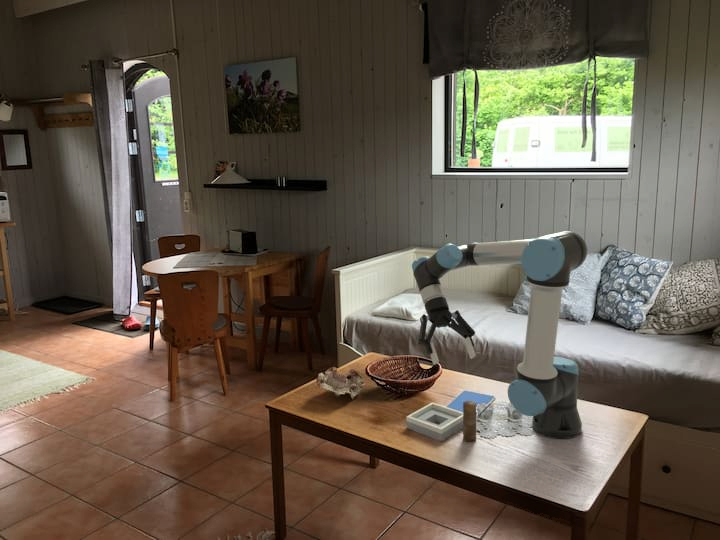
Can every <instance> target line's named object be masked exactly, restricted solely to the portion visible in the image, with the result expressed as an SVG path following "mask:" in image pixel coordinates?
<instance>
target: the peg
mask: <svg viewBox="0 0 720 540" xmlns="http://www.w3.org/2000/svg"><path fill="white" fill-rule="evenodd" d="M462 438H463V439H462V440H463V441H464V442H465V443H468V444H470V443H475V442H477V419H476V403H475V402H473V401H465V402H464V403H463V428H462Z"/></svg>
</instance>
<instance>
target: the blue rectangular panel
mask: <svg viewBox="0 0 720 540" xmlns="http://www.w3.org/2000/svg"><path fill="white" fill-rule="evenodd" d="M495 400H496V396H494V395H489V394H485V393H480V392H475V391H469V390H463V391H461V392H460V393H459V394H458V395H457V396H456V397H455V398H454V399H452V401H451V402H450V403H448V404H447V405H446V406H445V407H448V408H451V409H454V410H457V411H460V412H463V403H464V402H465V401H473V402H475V403H476V407H477V405H478V404H482V403H485V404H490V405H491V404H492V403H493V402H494V401H495ZM476 417H477V412H476Z"/></svg>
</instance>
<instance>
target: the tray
mask: <svg viewBox="0 0 720 540" xmlns="http://www.w3.org/2000/svg"><path fill="white" fill-rule="evenodd" d="M405 418H406V429H408V430H411V431H414V432H416V433H419V434H422V435H425V436H427V437H428V438H431V439H434V440H437V441H440V442H443V441H444V440H447V439H448V438H449V437H451V436H452V435H454V434H455V433H457V432H459V431H460V430H463V412H460V411H457V410H454V409H451V408H448V407H446V406H444V405H442V404H438V403H435V402H431V403H428V404H427V405H425V406H424V407H423V406H422V407H421V408H420V409H417V410H416V411H415V412H412V413H410V414H409V415H407V416H406V417H405ZM434 422H436V423H434ZM437 423H439V424H437Z"/></svg>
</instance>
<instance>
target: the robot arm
mask: <svg viewBox="0 0 720 540" xmlns="http://www.w3.org/2000/svg"><path fill="white" fill-rule="evenodd" d="M587 256H588V245H587V243H586V241H585V239H584V238H583V237H582V236H581V234H580V235H579V234H578V233H577V232H574V231H569V230H567V231H566V230H564V231H559V232H556V233H552V234H551V233H550V234H547V235H546V234H545V235H541V236H538V237H536V238H530V239H518V240H517V239H515V240H502V241H491V242H490V241H489V242H488V241H487V242H475V241H474V242H467V243H465V244H461V245H456V244H452V243H447V244H444V245H443V246H442V247H440V248H439V249H438V250H437V251H436V252H434V254H432V255H431V256H421V257H418V258H417V259H414V261H413V262H412V264H411V268H412V275H413V277H414V279H415V283H416V284H417V287H418V291H419V293H420V296H421V300H422V302H423V304H424V306H423V307H424V310H425V311H426V314H427V315H426V314H422V315H421V316H420V318H419V322H420V329H419V335H418V341H417V343H418V345H420V346H421V345H422V346H423V347H424V348H425V350H426V353H427V354H428V355H430V358H431V361H432V365H435V366H436V365H437V364H438V363H439V362H440V360H439V357H438V354H437V350H436V347H435V345H434V343H433V341H432V338H433V336H434V334H435V331H436V330H437V328H438V329H439V328H446V327H448V328H450V329H452V330H453V331H455V332H456V334H458V335H460V336H461V337H463V342H464V345H465V348H466V351H467V353H468V356H469V359H470V360H471V359H472V360H473V359H475V357H476V352H475V349H474V347H475V343H474V339H473V338H472V337H473V336H475V334H476V331H475V329H473V327H471V325H470V324H469V323H468V322H467V321H466V320H465V319H464V318H463V317H462V315H461V313H460V311H459V310H455V311H453V312H451V311H450V308H449V304H448V301H447V298H446V297H445V296H446V295H445V292H444V290H443V287H442V284H441V281H440V279H441V278H443V277H444V276H446V274H448V273H449V272H452V271H454V270H458V269H462V268H466V267H472V266H490V265H491V266H494V265H495V266H496V265H497V266H498V265H521V267H522V270H524V274H525V275H526V282H527V283H528V284H529V285H530V292H529V301H528V302H529V303H528V313H527V323H526V330H525V331H526V333H525V343H524V348H523V349H524V350H523V351H524V352H523V358H522V362H520V363H519V364H517V367H516V376H515V379H514V380H513V381H511V382H510V383H509V385H508V386H507V396H508V397H507V398H508V401H509V402H510V404H511V405H512V406H513V408H514V409H515V410H516V411H517V412H518V413H520V414H521V415H524V416H525V417H532V420H531V422H532V424H531V425H532V428H533V430H534V431H535V432H536V433H538V434H539V435H542V436H544V437H547V438H553V439H561V440H562V439H563V440H564V439H572V438H575V437H578V436H580V434H581V433H582V429H583V423H582V419H581V416H580V413H579V409H578V405H577V404H578V388H579V387H578V386H579V375H580V373H579V365H578V363H577V362H575V361H574V360H572V359H569V358H566V357H561V356H555V352H556V346H557V345H556V344H557V336H558V329H559V328H558V327H559V320H560V311H561V305H562V304H561V303H562V296H563V295H562V294H563V290H564V289H565V288H567V287H568V286H569V283H570V277H571V271H574V270H576V269H578V268H579V267H580V266H582V265H583V264H584V262H585V261H586V259H587ZM428 322H430V323H431V325H430V328H429V330H428V332H427V324H428ZM426 332H427V335H426ZM431 341H432V342H431Z"/></svg>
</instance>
